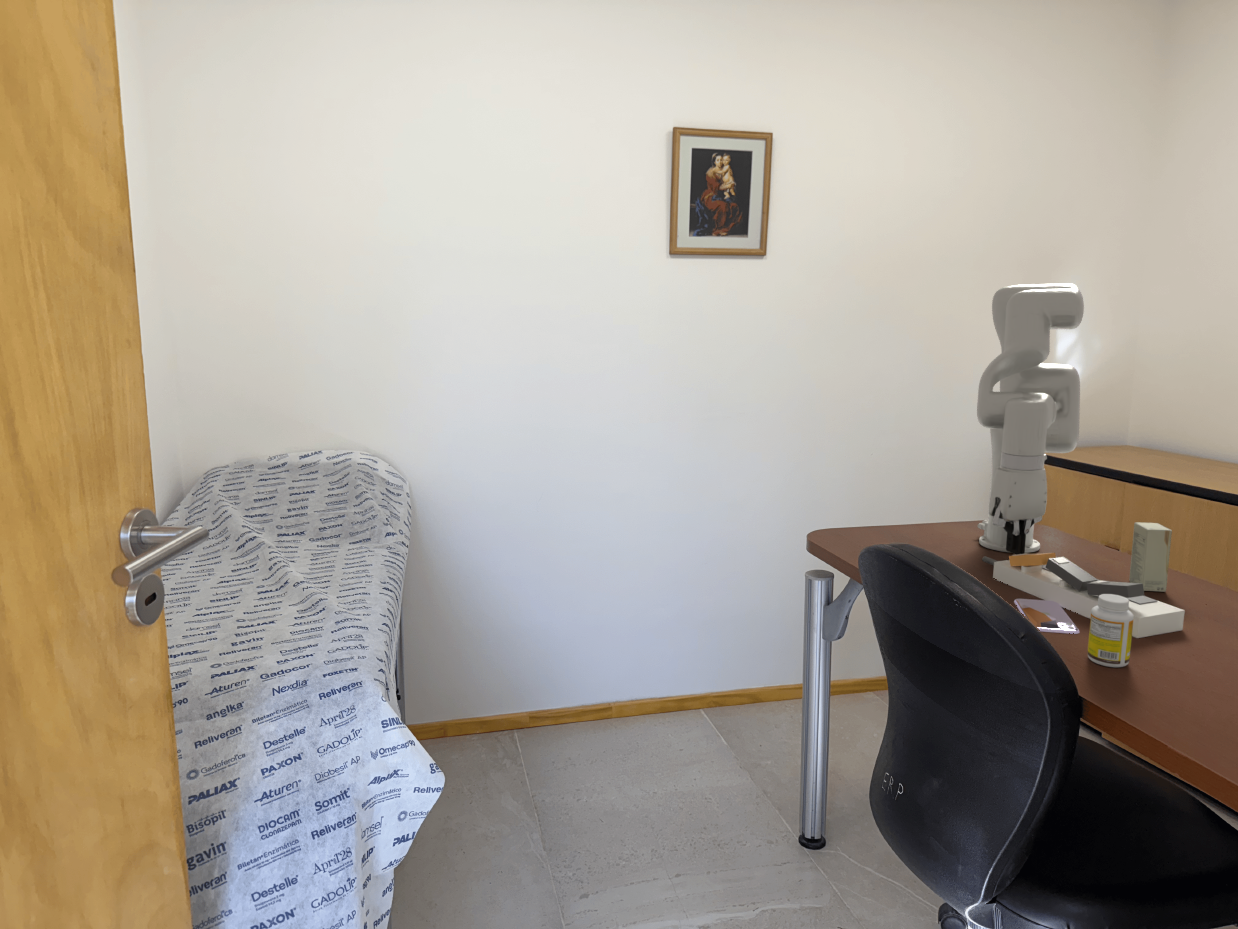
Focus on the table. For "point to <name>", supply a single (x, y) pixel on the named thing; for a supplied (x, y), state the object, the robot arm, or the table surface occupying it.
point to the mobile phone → (1046, 615)
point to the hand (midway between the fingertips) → (1015, 552)
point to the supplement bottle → (1110, 631)
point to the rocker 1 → (1030, 559)
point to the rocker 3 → (1115, 588)
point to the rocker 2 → (1070, 573)
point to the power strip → (1087, 598)
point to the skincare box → (1150, 556)
